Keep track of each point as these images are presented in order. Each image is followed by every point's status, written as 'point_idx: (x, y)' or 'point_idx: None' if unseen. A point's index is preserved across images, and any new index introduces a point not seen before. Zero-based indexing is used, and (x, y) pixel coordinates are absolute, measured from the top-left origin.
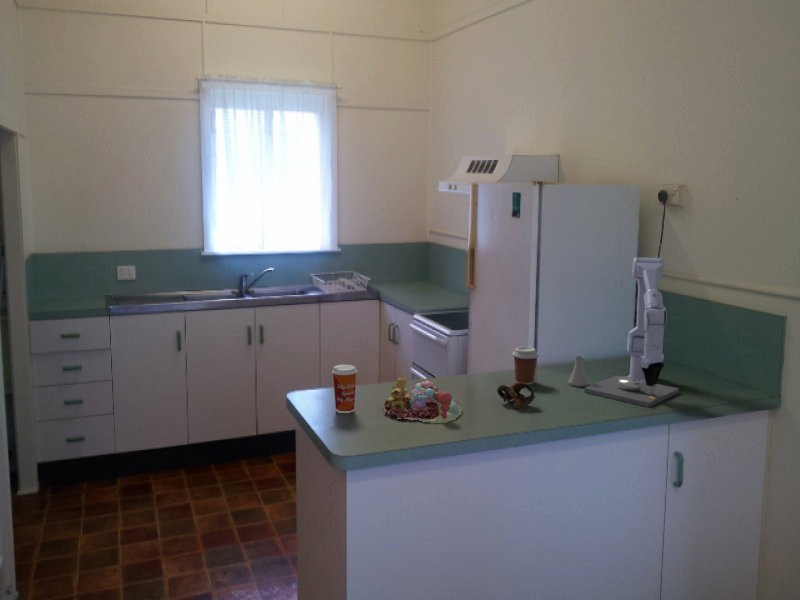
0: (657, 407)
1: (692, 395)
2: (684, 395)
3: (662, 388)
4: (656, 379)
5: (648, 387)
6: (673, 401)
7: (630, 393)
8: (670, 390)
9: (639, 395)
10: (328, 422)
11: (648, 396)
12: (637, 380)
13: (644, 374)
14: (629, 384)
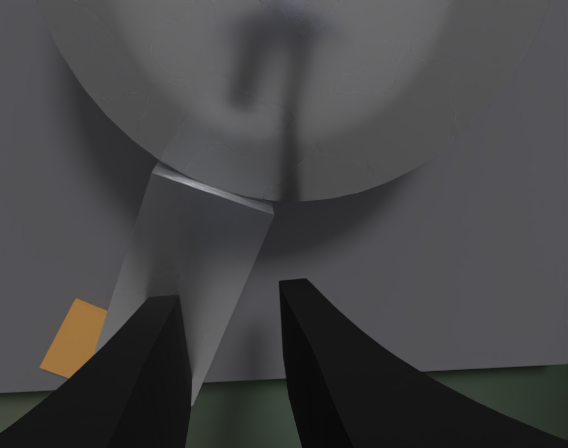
0: (3, 407)
1: (538, 425)
2: (505, 392)
3: (507, 263)
4: (298, 424)
5: (99, 344)
6: (281, 410)
7: (22, 81)
8: (476, 344)
9: (48, 210)
10: None
11: (76, 312)
12: (348, 39)
13: (25, 423)
14: (50, 13)
